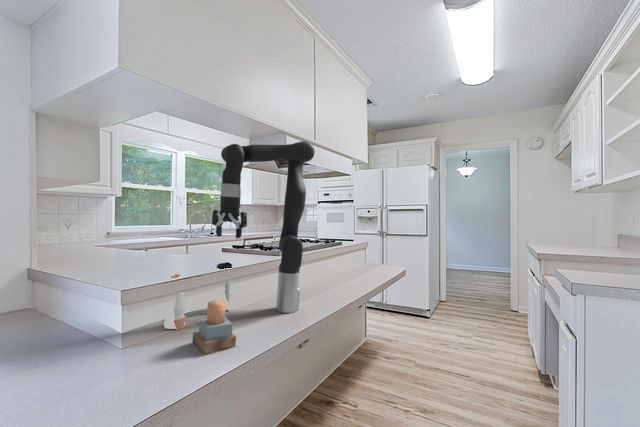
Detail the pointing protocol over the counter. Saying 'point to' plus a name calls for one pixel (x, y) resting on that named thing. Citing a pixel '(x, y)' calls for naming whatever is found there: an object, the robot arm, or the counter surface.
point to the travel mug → (228, 284)
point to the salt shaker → (179, 308)
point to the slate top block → (215, 329)
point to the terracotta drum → (216, 312)
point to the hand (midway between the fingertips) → (228, 237)
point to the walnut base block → (213, 343)
